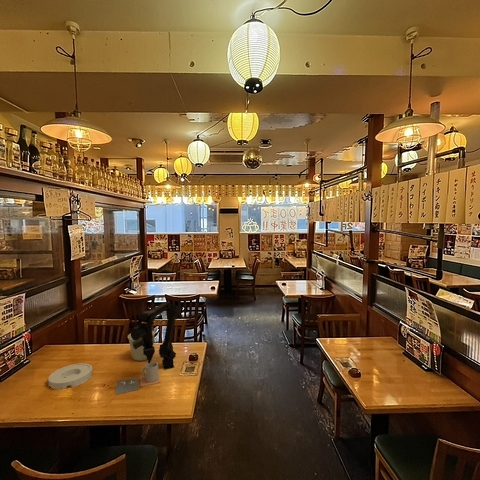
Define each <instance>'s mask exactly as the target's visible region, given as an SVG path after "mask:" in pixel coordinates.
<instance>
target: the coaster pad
mask: <svg viewBox="0 0 480 480" xmlns="http://www.w3.org/2000/svg"><path fill="white" fill-rule="evenodd" d="M158 375H159V376H160V374H159V373H158ZM139 381H140V382H139V384H140V385H139V386H140V388H145V387H149V386H154V385H158V384H161V379H160V377H159V378H158V380H157V381H155V382H147V381H146V377H144V376H142V377H139Z"/></svg>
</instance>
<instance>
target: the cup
mask: <svg viewBox="0 0 480 480" xmlns="http://www.w3.org/2000/svg"><path fill="white" fill-rule="evenodd" d="M158 374H159V363H158V362H157V361H151V362H150V363H148V362H147V363H146V364H145V366H143V367H142V368H141V375H142V377H146V381H147V382H155V381H157V380H158V378H160V374H159V375H158Z"/></svg>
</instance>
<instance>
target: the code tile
mask: <svg viewBox="0 0 480 480" xmlns="http://www.w3.org/2000/svg"><path fill="white" fill-rule="evenodd" d="M139 384H140V382H139V377H138V376H136V377H132V378H127V379H123V380H117V381H116V386H115V387H116V388H115V396H118V395H121V394H126V393H131V392H134V391H139V390H140V389H139V388H140V385H139Z"/></svg>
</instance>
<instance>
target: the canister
mask: <svg viewBox="0 0 480 480" xmlns="http://www.w3.org/2000/svg"><path fill="white" fill-rule="evenodd" d="M152 333H153V345H152V346H153V347H154V343H155V342H154V341H155V335H156V332H155V331H154V330H152ZM127 339H128V342H129V348H130V353H131V357H132V359H133V360H134V361H136V362H137V361H139V362H140V361H142V362H143V361H145V360H147V357H146V355H143V348H144V347H143V346H141V347H139V348H137V349H134V347H133V345H132V343H133V342H134V341H136V340H133V339H132V338H131V333H129V334H127Z"/></svg>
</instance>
